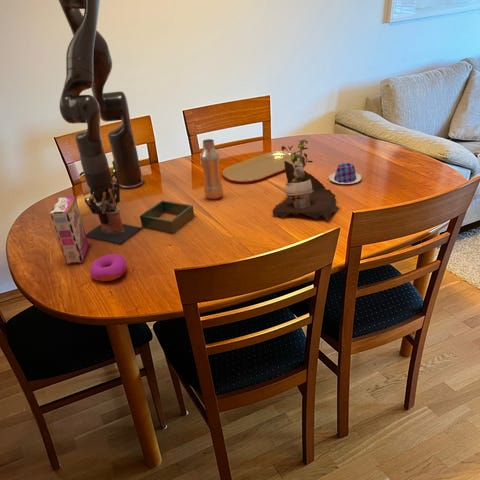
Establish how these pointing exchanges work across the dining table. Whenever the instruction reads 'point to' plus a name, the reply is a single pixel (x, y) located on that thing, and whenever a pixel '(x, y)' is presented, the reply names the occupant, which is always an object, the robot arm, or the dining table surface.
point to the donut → (108, 267)
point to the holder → (172, 226)
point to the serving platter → (258, 167)
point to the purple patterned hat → (345, 174)
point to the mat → (113, 238)
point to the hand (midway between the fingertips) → (110, 220)
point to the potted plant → (304, 190)
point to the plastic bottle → (211, 170)
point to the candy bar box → (70, 229)
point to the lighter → (112, 220)
